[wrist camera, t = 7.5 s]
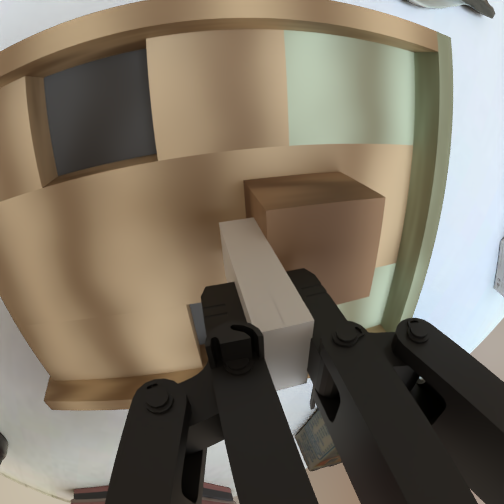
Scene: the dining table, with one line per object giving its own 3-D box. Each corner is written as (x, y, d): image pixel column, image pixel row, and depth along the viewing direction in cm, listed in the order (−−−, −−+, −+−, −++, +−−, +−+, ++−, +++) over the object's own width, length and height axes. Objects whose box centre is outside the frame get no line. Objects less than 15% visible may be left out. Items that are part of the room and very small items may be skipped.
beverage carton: (413, 336, 29) (445, 376, 23) (337, 428, 37) (354, 462, 31) (365, 338, 26) (399, 388, 21) (291, 435, 34) (306, 475, 28)
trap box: (61, 367, 20) (51, 409, 16) (-36, 99, 9) (-81, 108, 5) (374, 312, 24) (401, 346, 20) (400, 41, 13) (450, 37, 9)
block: (249, 270, 16) (269, 319, 13) (243, 180, 13) (266, 210, 10) (334, 255, 17) (369, 296, 13) (339, 171, 14) (385, 197, 11)
